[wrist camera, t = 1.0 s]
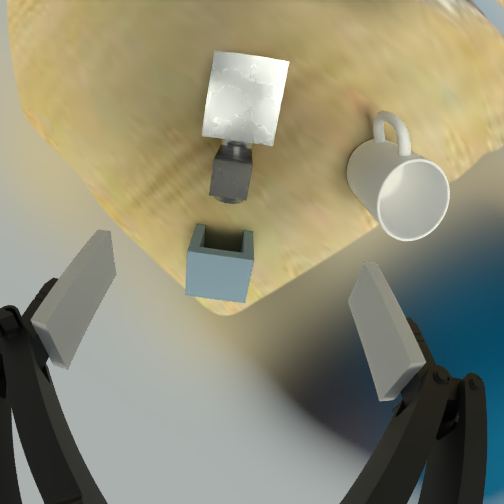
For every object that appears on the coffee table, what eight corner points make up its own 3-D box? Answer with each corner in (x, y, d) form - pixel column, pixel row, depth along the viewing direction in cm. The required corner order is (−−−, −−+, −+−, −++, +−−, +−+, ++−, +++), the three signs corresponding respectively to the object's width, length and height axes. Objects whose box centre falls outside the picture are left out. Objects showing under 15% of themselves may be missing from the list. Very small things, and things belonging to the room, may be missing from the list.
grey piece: (236, 58, 25) (230, 45, 17) (267, 63, 25) (274, 52, 17) (215, 190, 33) (204, 228, 25) (243, 194, 33) (242, 233, 25)
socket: (196, 223, 36) (187, 251, 31) (253, 231, 37) (253, 260, 31) (193, 264, 39) (185, 295, 34) (245, 271, 40) (245, 303, 34)
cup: (349, 207, 35) (379, 249, 26) (333, 111, 29) (367, 122, 20) (406, 195, 34) (447, 231, 25) (398, 103, 28) (447, 114, 19)
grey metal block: (221, 58, 26) (214, 50, 21) (281, 67, 26) (289, 61, 21) (210, 127, 30) (201, 136, 25) (268, 135, 31) (272, 146, 25)
